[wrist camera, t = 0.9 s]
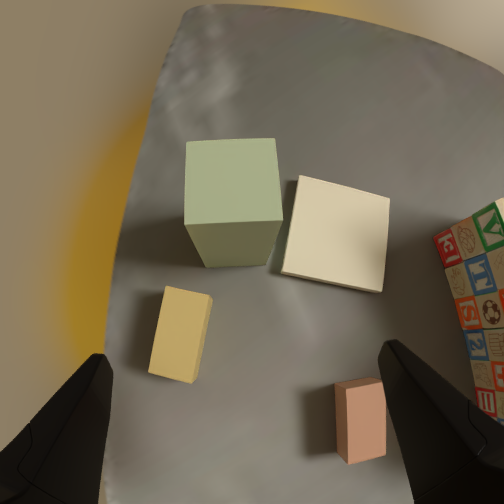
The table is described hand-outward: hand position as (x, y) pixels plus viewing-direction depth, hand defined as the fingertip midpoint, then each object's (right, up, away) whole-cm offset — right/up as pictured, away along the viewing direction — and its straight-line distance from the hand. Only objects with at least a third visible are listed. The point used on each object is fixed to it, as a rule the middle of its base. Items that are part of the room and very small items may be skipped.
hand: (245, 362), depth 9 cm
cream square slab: (+7, +5, +16) cm, 18 cm away
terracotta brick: (+8, -9, +12) cm, 18 cm away
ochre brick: (-5, -3, +14) cm, 15 cm away
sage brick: (-1, +4, +15) cm, 16 cm away
